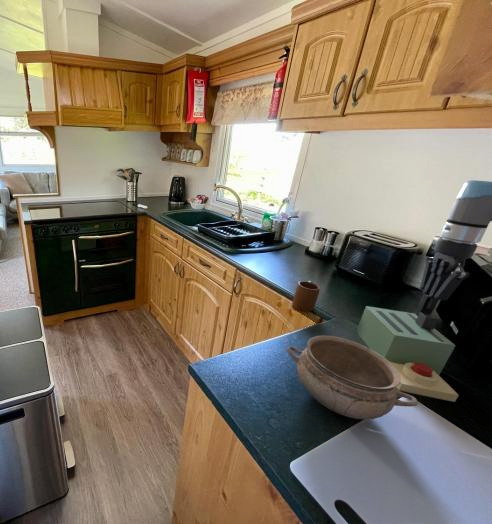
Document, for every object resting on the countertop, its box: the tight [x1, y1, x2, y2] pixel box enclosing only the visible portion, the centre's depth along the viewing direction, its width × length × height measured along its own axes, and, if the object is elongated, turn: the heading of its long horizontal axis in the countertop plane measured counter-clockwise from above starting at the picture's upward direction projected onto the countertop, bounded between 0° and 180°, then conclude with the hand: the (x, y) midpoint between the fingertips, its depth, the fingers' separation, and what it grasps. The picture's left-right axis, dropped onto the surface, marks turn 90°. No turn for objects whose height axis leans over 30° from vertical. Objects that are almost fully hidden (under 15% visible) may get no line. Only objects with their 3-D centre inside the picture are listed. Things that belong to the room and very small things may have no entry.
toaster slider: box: [415, 312, 439, 330], centre depth 84 cm, size 3×3×4 cm
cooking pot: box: [286, 335, 419, 420], centre depth 66 cm, size 25×19×12 cm
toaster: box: [355, 305, 456, 376], centre depth 87 cm, size 14×17×10 cm
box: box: [390, 362, 460, 403], centre depth 75 cm, size 12×9×4 cm
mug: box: [291, 280, 321, 312], centre depth 112 cm, size 12×8×9 cm, turn 145°
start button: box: [412, 363, 433, 377], centre depth 74 cm, size 4×4×2 cm
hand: (421, 316), depth 86 cm, fingers closed
